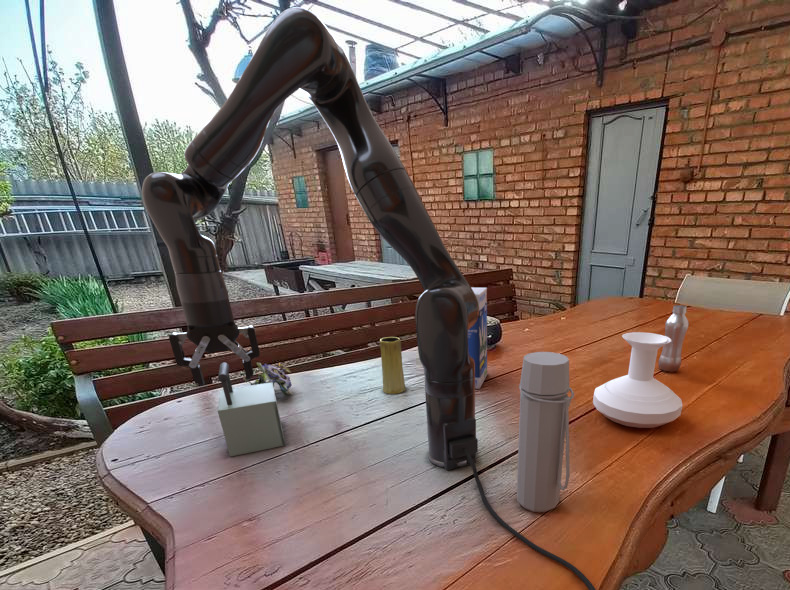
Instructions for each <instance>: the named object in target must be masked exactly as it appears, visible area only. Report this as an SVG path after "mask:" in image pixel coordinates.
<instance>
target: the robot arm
mask: <svg viewBox="0 0 790 590" xmlns="http://www.w3.org/2000/svg"><path fill="white" fill-rule="evenodd" d="M357 79H358V78H357V77H356V74H355V72H354V69H353V67H352V65H351V62H350V60H349V57H348V55H347V53H346V50H345V49H344V47H343V46H342V44H341V43H340V41H339V40H338V39H337V38H336V37H335V36H334V34H333V33H332V32H331V31H330V29H329V28H328V27H327V26H326V25H325V23H324V22H323V21H322V20H321V19H320V17H318V16H317V15H316V14H315V13H314V12H312V11H311V10H309V9H307V8H304V7H300V6H299V7H298V6H297V7H296V6H295V7H290V8H287V9H285V10H284V11H282V12H281V13H280V14H279V15H277V16H276V18H275V19H274V20H273V22H272V23H271V24H270V26H269V27H268V29H267V31H266V32H265V34H264V36H263V37H262V39H261V41H260V42H259V45H258V46H257V48H256V50H255V52H254V53H253V55H252V57H251V59H250V60H249V62H248V64H247V65H246V67H245V69H244V70H243V72H242V74H241V75H240V77H239V79H238V80H237V83H236V84H235V86H234V87H233V89H232V91H231V92H230V94H229V96H228V97H227V98H226V100H225V101H224V103H223V104H222V106H221V107H220V108H219V110H218V111H217V112H216V113H215V114H214V115H213V116H212V117H211V119H209V121H208V122H207V123H206V124H205V125H204V127H203V128H202V129H201V130H200V131H199V133H198V134H197V135H195V137H194V138H193V139H192V140H191V141H190V143H188V145H187V147H185V151H184V159H185V162H186V164H187V167H186V168H185V169H184V170H183V171H181V173H179V174H178V173H171V172H164V171H155V172H152V173H150V174H148V175H147V176H146V177H145V178H144V179H143V183H142V186H141V195H142V201H143V204H144V207H145V210H146V212H147V213H148V215H149V217H150V220H151V221H152V223H153V225H154V227H155V229H156V230H157V232H158V234H159V236H160V237H161V240H162V241H163V243H164V244H165V246H166V248H167V250H168V255H169V258H170V262H171V266H172V269H173V272H174V279H175V286H176V290H177V294H178V298H179V301H180V305H181V308H182V311H183V315H184V319H185V323H186V326H187V331H186V332H178V331H172V332H171V333H170V334H169V336H168V340H169V343H170V347H171V350H172V353H173V356H174V360H175V363H176V365H177V366H178V367H187V368H189V369H190V372H191V375H192V379H193V382H194V383H195V384H198V385H199V387H203V386H205V383H206V382H205V378H204V374H203V371H202V367H201V364H199V363H200V360H202V357H203V355H204V353H208V354H212V353H216V352H228V351H229V350H231V351H232V353H234V354H235V355H237V356H238V357H239V358H241V360H242V365H243V370H244V374H245V376H246V379H247V381H249V380H251V377H254V368H253V364H252V361H253V359H256V358H259V357H260V355H261V354H260V347H259V344H258V338H257V334H256V329H255V326H254V325H252V324H249V325H248V326H242V327H241V326H239V327H238V325H237V324H236V322H235V319H234V313H233V309H232V305H231V302H230V297H229V290H228V289H227V285H226V281H225V279H224V276H223V273H222V270H221V265H220V262H219V258H218V257H219V256H218V253H217V249H216V245H215V243H214V242H213V240H212V239H210V238H209V237H207V236H204V235H202V234H201V233H200V231H199V229H198V226H197V224H196V221H199V220H203V219H205V218H206V217H208V216H209V215H211V214H212V213H213V212H214V211H215V210H216V208H217V207H218V206H219V204H220V202H221V200H222V199H223V197H224V195H225V194H226V191H227V189H228V187H229V184H231V183H232V182H233V181H234V180H235V179H236V178H237V177H238V176H239V175H240V174H241V173H242V172H243V171H244V170H245V169H246V168H247V166H249V165H250V164H251V162H252V161H253V160H254V158H255V157H256V156H257V154H258V152H259V150H260V148H261V147H262V143H263V141H264V138H265V134H266V131H267V128H268V127H269V124H270V122H271V119H272V118H273V116H274V115H275V112H276V111H277V110H278V109H279V107H280V106H281V105H282V103H284V102H285V101H286V100H287V99H288V98H289V97H290V96H292V95H293V94H295V93H296V92H297V91H298V90H299V91H300V92H302V93H303V95H305V96H306V97H307V98H308V99H309V101H310V102H311V103H312V105H313V106H314V107H315V108H316V110H317V111H318V113H319V115H320V116H321V117H322V119H323V121H324V122H325V124H326V125H327V127H328V128H329V130H330V132H331V134H332V135H333V137H334V139H335V142H336V143H337V146H338V150H339V152H340V155H341V159H342V164H343V167H344V170H345V174H346V178H347V180H348V182H349V183H348V184H349V185H350V188H351V190H352V192H353V194H354V196H355V198H356V199H357V201H358V204H359V205H360V207H361V208H362V210H363V212H364V214H365V216H366V217H367V219H368V221H369V222H370V224H371V226H373V228H374V230H375V231H376V232H377V233H378V234H379V235H380V236H381V238H382V239H383V240H384V241H385V242H386V243H387V244H388V245H389V246H390V247H391V249H393V250H394V251H395V252H396V253H397V254H398V255H399V256H400V257H401V258H402V259H403V260H404V261H405V262H406V263H407V264H408V266H409V267H410V268H411V270H412V271H413V273H414V274H415V276H416V277H417V280H418V282H419V283H420V285H421V287H422V289H423V291H424V292H422V293H421V295H420V296H419V297H418V299H417V302H416V305H415V313H414V320H415V321H414V322H415V335H416V344H417V352H418V358H419V361H420V364H421V365H422V367H423V375H424V377H423V378H424V392H425V393H424V395H425V410H426V411H425V413H426V428H427V445H428V451H427V453H428V460H429V462H430V463H432V464H433V465H435V466H437V467H441V468H443V469H445V470H446V471H450V470H451V471H452V470H453V469H454V470H455V469H457V468H458V469H459V468H461V467H466V466H470V468H471V470H472V473H473V477H474V480H475V483H476V486H477V489H478V491H479V495H480V497H481V501H482V503H483V505H484V507H485V508H486V510H487V511H488V513H489V514H490V515H491V516H492V518H493V519H494V520H495V521H497V523H498V524H499V525H500V526H502V527H503V528H504V529H505V530H506V531H507V532H509V533H510V534H511V535H513V536H514V537H515V538H517V539H518V540H519V541H521V542H522V543H523V544H525V545H526V546H528V547H529V548H530V549H532V550H534V551H535V552H537V553H539V554H541V555H542V556H544V557H546V558H548V559H550V560H552V561H554V562H556V563H558V564H560V565H561V566H563V567H565V568H566V569H568V570H570V571H571V572H572V573H574V575H575V576H577V577H578V578H579V580H581V581H582V583H583V584H584V585H585V586H586V588H587V589H588V590H597V589H596V587H595V585H593V583H592V582H591V581H590V579H588V578H587V576H586V575H585V574H584V573H582V571H581V570H580V569H578V567H576V566H574V565H573V564H572V563H570V562H569V561H567V560H566V559H563V558H562V557H560V556H558V555H556V554H554V553H552V552H550V551H548V550H546V549H544V548H542V547H540V546H539V545H537V544H536V543H534V542H532V541H531V540H529V539H528V538H526V537H525V536H524V535H522V534H521V533H520V532H518V531H517V530H515V528H513V527H512V526H510V525H509V524H508V523H507V522H505V521H504V520H503V519H502V518H501V517H500V516H499V515H498V513H497V512H496V511H495V510H494V509H493V508H492V506H491V504H490V503H489V501H488V499H487V497H486V494H485V492H484V488H483V485H482V483H481V479H480V476H479V473H478V469H477V467H476V463H477V454H478V453H479V449H478V442H479V439H478V438H477V419H476V389H475V362H474V359H473V358H472V357H471V356H469V350H468V330H469V329H470V328H471V327H472V326H473V325H474V324H475V323H476V321H477V319H478V315H479V304H478V300H477V297H476V295H475V293H474V291H473V290H472V288H473V287H471V285H470V284H469V282H468V281H467V279H466V278H465V276H464V274H463V273H462V271H461V270H460V269H459V267H458V265H457V264H456V263H455V261H454V259H453V258H452V256H451V254H450V253H449V251H448V250H447V248H446V246H445V244H444V242H443V240H442V238H441V236H440V234H439V231H438V230H437V228H436V226H435V223H434V222H433V220H432V218H431V215H430V214H429V212H428V211H427V208H426V207H425V205H424V203H423V201H422V199H421V196H420V194H419V191H418V190H417V188H416V186H415V184H414V182H413V181H412V178H411V176H410V175H409V173H408V171H407V169H406V168H405V166H404V164H403V162H402V161H401V159H400V157H399V155H398V153H397V152H396V151H395V149H394V147H393V146H392V144H391V141H390V140H389V139H388V137H387V136H386V134H385V133H384V131H383V130H382V129H381V127H380V125H379V124H378V122H377V120H376V119H375V116H374V115H373V113H372V112H371V109H370V107H369V104H368V103H367V101H366V98H365V96H364V93H363V91H362V89H361V86H360V84H359V82H358V80H357ZM240 334H242V335H243V337H244V338H245V339H249V340H248V341H249V344H250V348H251V349H250V351H247V350H246V349H245V348H244V347H243V346H242V345H241V344H240V343H239V342H238V341H237V339H238V337H239V335H240ZM186 339H188V340H189V341H190V342H192V343H193V344H194V345H195V346H196V348H195V351H194V352H193V354H192V357H191V358H190V357H186V355H185V351H184V348H183V345H184V344H185V342H186Z"/></svg>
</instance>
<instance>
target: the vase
mask: <svg viewBox="0 0 790 590" xmlns="http://www.w3.org/2000/svg"><path fill="white" fill-rule="evenodd" d="M401 341H402V340H401V338H399V337H397V336H387V337H382V338H380V339H379V348H380V359H381V374H382V391H383V392H384V393H386V394H388V395H395V394H396V395H397V394H400V393H404V392H405V391H406V390H407V389H406V382H405V374H404V366H403V356H402V355H403V354H402V353H403V352H402V342H401Z"/></svg>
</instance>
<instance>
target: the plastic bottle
mask: <svg viewBox="0 0 790 590" xmlns="http://www.w3.org/2000/svg"><path fill="white" fill-rule="evenodd" d="M687 308H688V307H687V305H682V304H677V305H676V304H675V305H673V306H672V311H671V312H672V314H671V315H670V316H669V317H668V318H667V320H666V321H665V325H664V336H667V337H669V338H670V339H671V342H669V343H668V344H666V345H664V346H662V350H661V353H660V356H659V359H658V361H657V362H658V368H659V370H661V371H664V372H677V371H679V370H680V368H681V365H682V353H683V352H682V351H683V345H684V341H685V337H686V334H687V331H688V328H689V325H690V324H689V320H688V317H687V316H686V314H687Z"/></svg>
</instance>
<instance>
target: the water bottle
mask: <svg viewBox="0 0 790 590" xmlns="http://www.w3.org/2000/svg"><path fill="white" fill-rule="evenodd" d="M518 388H519V391H520V393H519V421H518V449H517V474H516V475H517V477H516V478H517V479H516V501H517V503H518V504H520V505H521V507H522V508H523V509H525V510H527V511H530V512H533V513H545V512H548V511H551V510H553V509H555V508H556V507H557V505H558V504H559V502H560V497H561V490H562V491H566V490H567V488H568V485H569V481H570V476H571V474H570V473H571V471H570V469H571V467H570V421H569V418H570V417H569V416H570V415H569V408H570V405H571V402H572V399H574V397H575V392H574V390H573V389H572V388H571V387H570V359H569V358H568V356H567V355H564V354H563V353H558V352H552V351H536V352H530V353H529V352H528V353H527V354H525V355H524V356H523V359H522V366H521V374H520V382H519V385H518ZM569 392H570V394H571V396H569V395H568V393H569ZM564 449H565V450H564ZM564 451H565V480H564V486H562V476H563V475H562V473H563V462H564Z"/></svg>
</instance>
